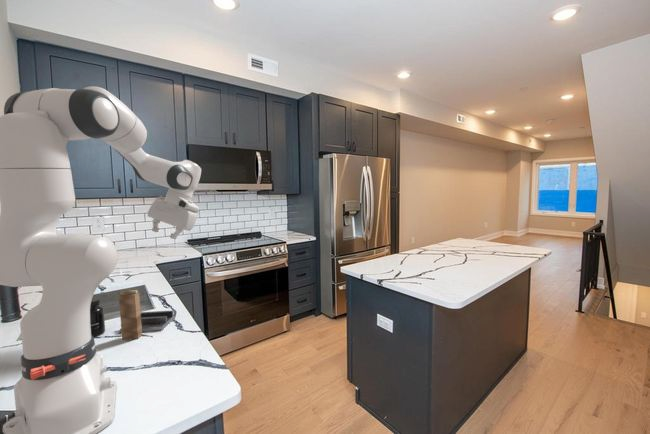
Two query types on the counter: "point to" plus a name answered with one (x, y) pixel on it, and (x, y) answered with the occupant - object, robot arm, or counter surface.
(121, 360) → the counter surface
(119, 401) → the counter surface
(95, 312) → the supplement bottle
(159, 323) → the floor track
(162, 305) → the counter surface
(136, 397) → the counter surface
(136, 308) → the brown tall rectangular block
